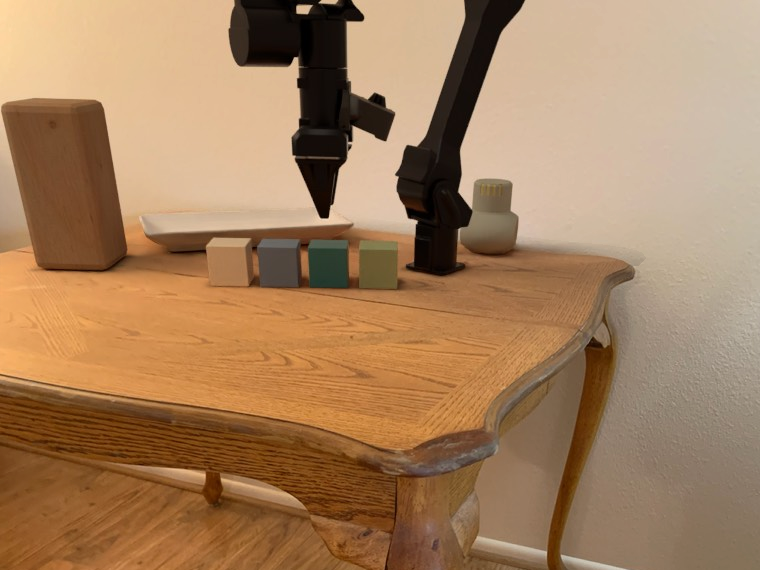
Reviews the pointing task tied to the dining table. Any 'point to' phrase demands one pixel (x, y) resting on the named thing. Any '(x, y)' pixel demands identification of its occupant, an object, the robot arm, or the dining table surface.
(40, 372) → the dining table surface
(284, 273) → the slate block
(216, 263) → the cream block
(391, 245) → the sage block
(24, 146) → the wooden block
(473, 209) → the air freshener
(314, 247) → the teal block
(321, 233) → the tray
